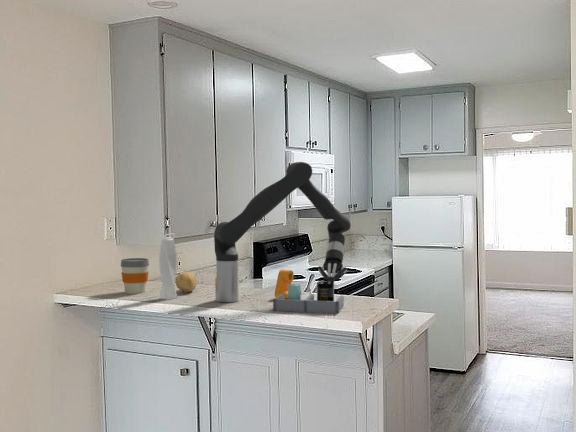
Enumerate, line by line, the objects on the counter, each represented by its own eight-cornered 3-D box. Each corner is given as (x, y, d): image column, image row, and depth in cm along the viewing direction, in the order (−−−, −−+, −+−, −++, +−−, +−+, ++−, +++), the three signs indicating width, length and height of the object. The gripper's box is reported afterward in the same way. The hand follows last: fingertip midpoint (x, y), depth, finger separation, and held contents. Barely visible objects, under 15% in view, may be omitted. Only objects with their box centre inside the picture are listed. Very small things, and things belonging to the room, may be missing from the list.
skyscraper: (169, 295, 274) (168, 232, 273) (181, 297, 270) (180, 233, 269) (155, 298, 268) (155, 233, 267) (168, 300, 264) (167, 234, 262)
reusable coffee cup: (153, 292, 283) (153, 260, 282) (126, 295, 276) (126, 261, 275) (143, 289, 293) (142, 257, 292) (117, 291, 286) (116, 259, 285)
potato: (169, 293, 281) (169, 272, 280) (186, 288, 294) (186, 268, 293) (188, 295, 277) (188, 273, 276) (205, 290, 290) (204, 269, 290)
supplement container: (335, 310, 242) (335, 283, 241) (317, 310, 242) (317, 283, 241) (332, 306, 249) (332, 281, 248) (316, 307, 248) (316, 281, 248)
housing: (281, 303, 255) (281, 282, 255) (343, 306, 249) (343, 284, 249) (273, 310, 241) (273, 287, 241) (338, 313, 236) (338, 289, 235)
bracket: (288, 300, 264) (288, 272, 263) (274, 298, 268) (274, 271, 267) (302, 296, 273) (302, 269, 272) (288, 295, 277) (288, 268, 276)
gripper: (318, 248, 270) (313, 280, 259) (349, 249, 268) (344, 281, 256) (320, 258, 276) (315, 290, 264) (350, 259, 273) (346, 292, 261)
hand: (330, 286), depth 260 cm, fingers closed
